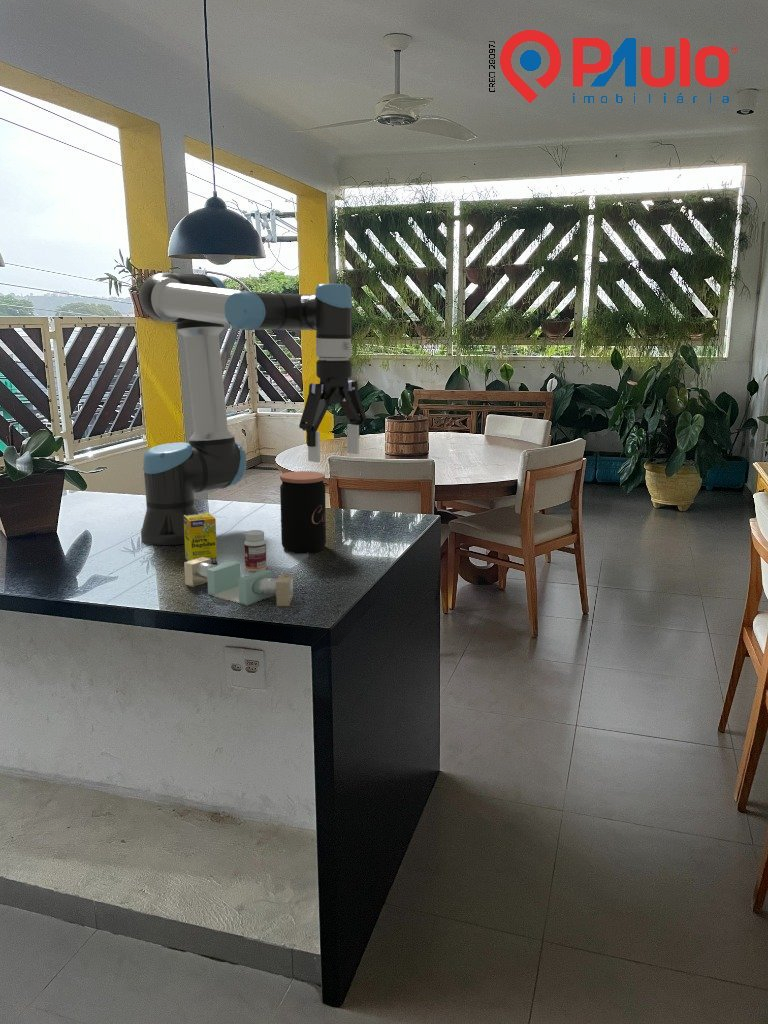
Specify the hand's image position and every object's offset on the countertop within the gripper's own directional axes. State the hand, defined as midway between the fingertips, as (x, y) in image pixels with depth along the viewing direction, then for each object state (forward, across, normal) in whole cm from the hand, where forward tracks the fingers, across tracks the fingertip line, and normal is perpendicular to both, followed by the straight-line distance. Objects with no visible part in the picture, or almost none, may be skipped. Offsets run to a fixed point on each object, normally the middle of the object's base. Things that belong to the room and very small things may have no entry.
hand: (334, 457), depth 168 cm
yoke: (+24, -28, +1) cm, 37 cm away
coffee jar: (+24, +4, +13) cm, 28 cm away
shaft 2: (+24, -27, -6) cm, 37 cm away
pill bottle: (+24, -14, +11) cm, 30 cm away
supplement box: (+24, -18, +24) cm, 39 cm away
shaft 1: (+24, -28, +11) cm, 39 cm away
